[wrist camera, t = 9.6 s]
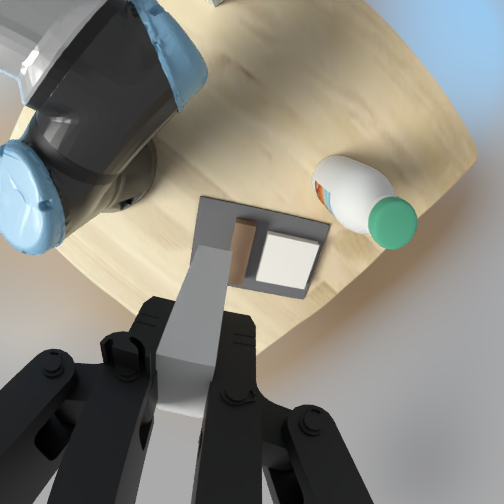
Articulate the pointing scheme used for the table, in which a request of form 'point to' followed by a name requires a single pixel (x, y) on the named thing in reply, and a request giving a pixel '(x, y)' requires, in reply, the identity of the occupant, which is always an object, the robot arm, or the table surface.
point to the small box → (214, 2)
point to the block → (241, 249)
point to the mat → (221, 232)
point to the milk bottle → (364, 201)
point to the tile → (286, 260)
